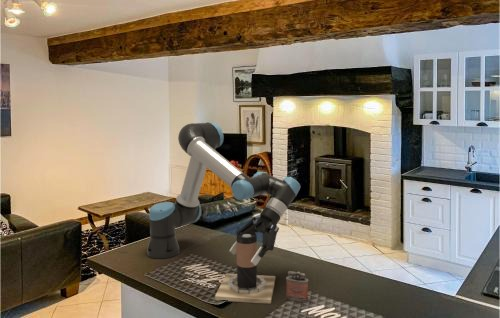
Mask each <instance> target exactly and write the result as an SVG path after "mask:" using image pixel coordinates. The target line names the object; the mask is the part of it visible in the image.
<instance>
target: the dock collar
mask: <svg viewBox="0 0 500 318" xmlns="http://www.w3.org/2000/svg"><path fill="white" fill-rule="evenodd" d="M236 281H237V275H236V276H234V277H232V278H230V279H229V281H228V288H229V289H230V290H231V291H232V292H235V293H238V294H254V293H258V292H260V291H262V290H264V289H265V286H266V281H265V280H264V279H263V278H262V277H260V276H257V281H258V282H259V283H260V284H261V285H259V286H257V287H254V288H249V289H248V288H239V287H236V286H234V285H233V283H234V282H236Z"/></svg>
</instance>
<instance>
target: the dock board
mask: <svg viewBox="0 0 500 318" xmlns="http://www.w3.org/2000/svg"><path fill="white" fill-rule="evenodd" d="M236 275H237V273H225V275H224V277H223V279H222V281H221V283H220V284H219V288H218V289H217V292H216V293H215V295H214V301H219V300H228V301H227V302H234V303H235V302H237V303H238V302H239V303H250V304H251V303H254V304H265V305H266V304H269V305H270V304H272V299H273V294H274V289H275V282H276V276H275V275H259V274H257V276H260V277H262V278H263V279H264V280H265V281H266V286H265V289H264V290H262V291H260V292H258V293H254V294H238V293H235V292H232V291H231V290H230V289H229V288H228V281H229V279H230V278H232V277H234V276H236ZM233 285H234V286H236V287H238V284H237V281H236V282H234V283H233ZM259 285H261V284H260V283H259V282H258V281H256V287H257V286H259Z"/></svg>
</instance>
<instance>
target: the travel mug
mask: <svg viewBox="0 0 500 318" xmlns="http://www.w3.org/2000/svg"><path fill="white" fill-rule="evenodd" d="M236 233H237V232H236ZM236 239H237V252H236V274H237V284H238V287H239V288H248V289H249V288H254V287H256V281H257V275H258V264H257V265H256V266H255V265H254V264H253V263H252V262H251V260H252V258H253V257H254V255H255V254H256V252H257V251H258V243H257V242H258V240H257V239H258V235H257V233H254V232H249V231H246V232H244V233H241V234H240V233H237V234H236Z"/></svg>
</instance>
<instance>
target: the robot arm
mask: <svg viewBox="0 0 500 318" xmlns="http://www.w3.org/2000/svg"><path fill="white" fill-rule="evenodd" d="M177 138H178V144H179V146H180V147H181V149H182V150H183V151H184V152H185V153H186V154H187V155H188V156H190V158H189V162H188V166H187V169H186V173H185V177H184V180H183V184H182V187H181V191H180V194H177V195H176V197H175V200H174V201H175V202H174V203H173V202H172V201H163V202H159V203H155V204H154V205H152V206H151V207H150V208H149V215H148V219H149V234H150V235H149V236H150V238H149V242H148V245H147V248H146V254H147V255H146V256H148V258H152V259H168V258H173V257H176V256H178V255H179V254H180V251H181V250H180V245H179V242H178V239H177V236H176V229H177V228H178V229H179V228H181V227H185V226H187V225H192V224H194V223H196V222H198V220H199V219H201V216H202V208H201V207H202V206H201V204H200V200H199V195H200V192H201V188H202V185H203V181H204V177H205V175H206V172H207V169H208V170H210V172H212V173H213V174H214V175H216V176H217V177H218V178H219V179H221V180H222V182H224V183H225V184H226V185H227V186H229V187H230V188H231V193H232V195H233V197H234V198H235V200H239V201H243V200H249V199H252V198H255V197H257V196H258V197H260V196H262V195H268V196H270V197H271V198H270V199H269V200H268V202H267V203H266V205H265V207H264V208H263V209H262V210H261V212H260V214H259V216H260V217H259V218H258V219H257V217H255V216H253V217H252V219H250V221H249V222H247V223H246V224H245V225H244V226H243V227H241V228H240V229H239V230H237V232H236V235H237V233H240V234H241V233H244V232H246V231H249V232H254V233H256V234H257V233H259V234H262V245H261V246H260V247H259V248H257V252H256V254H255V255H254V257H253V258H252V260H251V262H252V263H253V264H254V265H255V266H256V265H257V266H258V263H259V262H260V261H261V259H262V258H264V256H265V255H266V254H267V252H268V251H271V252H272V251H274V248H275V243H276V239H277V234H278V232H279V230H280V228H279V226H278V223H279V222H280V220H281V217H283V216H284V214H285V213H286V211H287V209H288V208H289V206H291V203H292V202H293V201H294V200H295V198H296V197H297V195H298V193H299V191H300V189H301V184H300V183H299V181H297V179H295V178H294V177H291V176H286V177H284V178H283V179H279V178H277V177H275V176H272V175H270V174H269V173H267V172H264V171H257V172H256V173H254V174H253V176H252V177H249V176H248V175H247V174H245V173H244V172H243V171H242V170H240V169H239V168H238V167H236V166H235V165H234V164H232V163H231V162H230V161H229V160H228V159H227V158H225V157H224V156H223V155H222V154H220V152H218V151H217V150H216V149H217V148H219V147H221V146H222V144H223V143H224V139H225V138H224V133H223V130H222V128H221V126H220V125H219V124H217V123H214V122H201V123H200V122H196V123H195V122H194V123H193V122H191V123H187V124H185V125H183V127H181V129H180V131H179V133H178V136H177ZM229 252H230V253H231V254H232V255H234V256H235V255H236V254H237V238H236V239H235V241H234V242H233V245H232V246H231V248H230V249H229Z"/></svg>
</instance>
